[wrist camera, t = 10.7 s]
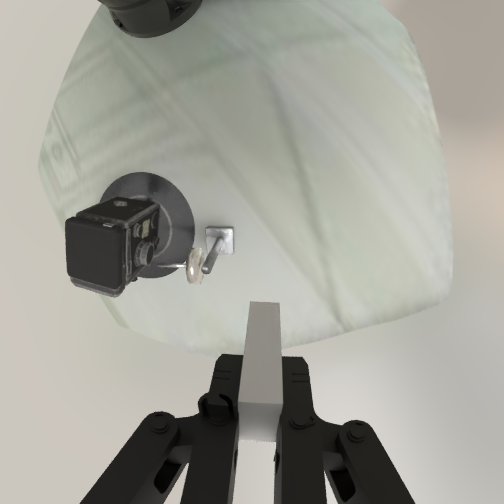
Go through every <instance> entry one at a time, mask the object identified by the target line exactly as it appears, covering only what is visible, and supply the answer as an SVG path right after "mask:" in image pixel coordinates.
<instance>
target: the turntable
mask: <svg viewBox="0 0 504 504" xmlns="http://www.w3.org/2000/svg"><path fill="white" fill-rule="evenodd" d="M115 196H118V197H123V198H130V199H136V200H142V201H148V202H154V203H159V204H160V206H161V210H160V220H159V231H158V237H159V238H160V240H159V244H158V245H157V249H156V250H155V251H154V256H153V259H152V262H151V264H150V265H149V266H147V265H146V266H145V267H144V268H143V269H142V270H141V271H140V272H139V273H138V275H137V276H138V277H142V278H159V277H163V276H167V275H169V274H171V273H173V272H174V271H176V270H177V269H178V268H179V267H158V263H181V264H183V263H184V262H185V261H186V259H187V254H188V251H189V249H190V248H192V246H193V242H194V235H195V226H194V219H193V215H192V212H191V209H190V207H189V205H188V203H187V201H186V199H185V198H184V196H183V195H182V193H181V192H180V191H179V190H178V189H177V188H176V187H175V186H174V185H173V184H172V183H170V182H169V181H167V180H166V179H164V178H162V177H160V176H158V175H154V174H151V173H144V172H139V173H131V174H128V175H125V176H123V177H121V178H119V179H117V180H116V181H114V182H113V183H112V184H111V185H110V186H109V187H108V188H107V190H106V191H105V192H104V194H103V196H102V198H101V200H100V203H101V202H103V201H105V200H108V199H110V198H112V197H115Z"/></svg>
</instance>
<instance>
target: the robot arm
mask: <svg viewBox="0 0 504 504" xmlns="http://www.w3.org/2000/svg"><path fill="white" fill-rule="evenodd" d="M98 1H99V2H101V3H103V4H104V5H106V6H107V7H108V9H109V11H110V13H111V16H112V18H113V21H114V23H115V24H116V25H117V26H118V28H120V29H121V30H122V31H124V32H125V33H127V34H129V35H131V36H134V37H139V38H148V37H155V36H159V35H162V34H165V33H167V32H170V31H172V30H174V29H176V28H177V27H179V26H180V25H182V24H183V23H185V22H186V21H187V20H188V19H189V18H190V17H191V16H192V15H193V14H194V13H195V12H196V10H197V9H198V7H199V6H200V4H201V2H202V0H98ZM198 408H199V413H198V414H196V415H194V416H190V417H183V418H175V417H174V416H173V415H171V414H170V413H167V412H163V411H161V412H154V413H151V414H149V415H148V416H147V417H146V418H145V419H144V420H143V421H142V422H141V424H140V425H139V427H138V428H137V429H136V431H135V432H134V433H133V434H132V436H131V437H130V438H129V440H128V441H127V442H126V444H125V445H124V446H123V448H122V449H121V450H120V452H119V453H118V454H117V456H116V457H115V458H114V460H113V461H112V462H111V464H110V465H109V466H108V467H107V469H106V470H105V471H104V473H103V474H102V475H101V477H100V478H99V479H98V480H97V482H96V483H95V484H94V486H93V487H92V488H91V490H90V491H89V492H88V493H87V495H86V496H85V497H84V499H83V500H82V501H81V502H80V504H163V503H164V502H165V500H166V498H167V497H168V495H169V493H170V492H171V490H172V488H173V487H174V485H175V483H176V481H177V480H178V478H179V476H180V474H181V473H182V471H183V469H184V468H185V466H186V464H187V463H189V466H188V471H187V475H186V480H185V484H184V489H183V494H182V498H181V502H180V504H232V501H233V492H234V484H235V474H236V465H237V456H238V441H239V440H245V441H264V442H265V441H266V442H276V452H275V456H274V461H275V480H274V481H275V482H274V504H327V498H326V487H325V477H324V471H325V473H326V476H327V478H328V481H329V483H330V486H331V488H332V490H333V493H334V495H335V498H336V500H337V502H338V504H415V502H414V500H413V499H412V497H411V495H410V493H409V491H408V490H407V488H406V486H405V484H404V482H403V481H402V479H401V477H400V475H399V474H398V472H397V470H396V468H395V467H394V465H393V463H392V461H391V460H390V458H389V456H388V454H387V453H386V451H385V449H384V447H383V446H382V444H381V442H380V441H379V439H378V437H377V435H376V433H375V432H374V430H373V428H372V427H371V426H370V425H369V424H368V423H366V422H364V421H359V420H351V421H349V422H346V423H344V424H343V425H337V424H333V423H329V422H325V421H324V420H322V419H320V418H319V417H318V416H317V415H316V413H315V411H314V408H313V400H312V392H311V384H310V376H309V369H308V364H307V363H306V361H305V360H304V359H303V357H285V356H284V357H283V356H282V354H281V329H280V306H279V303H271V302H251V301H250V307H249V316H248V324H247V332H246V340H245V348H244V355H232V354H222V355H221V356H220V357H219V358H218V359H217V361H216V363H215V368H214V372H213V376H212V381H211V385H210V390H209V392H208V393H205V394H204V395H203V396H202V397H200V399H199V401H198Z"/></svg>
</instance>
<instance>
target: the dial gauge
mask: <svg viewBox="0 0 504 504" xmlns="http://www.w3.org/2000/svg"><path fill="white" fill-rule="evenodd" d="M206 240H207V254H208V256H207V258H206V260H205V262H204V254H203V250H202V248H190V249H189V251H188V254H187V260H186V264H181V263H158V267H180V268H186V274H187V279H188V282H189V283H190V284H201V283H202V280H203V276H204V274H209V273H210V272H211V270H212V267H213V265H214V263H215V261H216V258H217V256H218V254H233V253H234V239H233V227H207V228H206Z"/></svg>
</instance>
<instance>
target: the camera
mask: <svg viewBox="0 0 504 504" xmlns="http://www.w3.org/2000/svg"><path fill="white" fill-rule="evenodd" d="M160 210H161V206H160V204H159V203H154V202H148V201H142V200H136V199H130V198H123V197H118V196H115V197H112V198H110V199H108V200H105V201H103V202H101V203H98V204H96V205H94V206H91V207H89V208H87V209H85V210H83V211H80V212H78V213H77V214H76V217H71V218H69V219H67V220H66V222H65V239H66V262H67V273H68V275H69V276H70V278H71V282H72V283H73V284H74V285H75V286H77V287H80V288H84V289H87V290H90V291H93V292H96V293H99V294H103V295H106V296H109V297H113V298H116V297H118V296H119V295H120V294H121V293H122V292H123V290H124V289H125V286H126V285H128V284H129V283H130V282H134V281H137V275H138V273H139V272H140V271H141V270H142V269H143V268H144V267H145V266H146V265H147V266H149V265H150V264H151V262H152V259H153V256H154V251H155V250H156V249H157V245H158V244H159V240H160V238H159V237H158V231H159V220H160Z"/></svg>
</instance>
